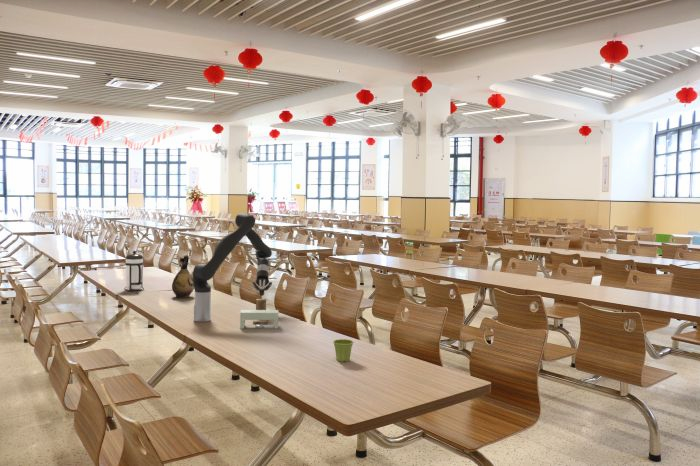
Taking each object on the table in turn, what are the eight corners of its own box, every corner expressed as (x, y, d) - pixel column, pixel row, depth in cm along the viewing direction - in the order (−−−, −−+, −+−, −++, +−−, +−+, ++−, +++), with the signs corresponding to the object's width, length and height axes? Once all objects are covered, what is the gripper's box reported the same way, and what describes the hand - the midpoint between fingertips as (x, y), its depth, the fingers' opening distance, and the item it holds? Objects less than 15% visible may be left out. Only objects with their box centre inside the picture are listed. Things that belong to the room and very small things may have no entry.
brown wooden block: (252, 324, 332) (253, 303, 331) (254, 318, 347) (254, 298, 346) (266, 324, 333) (267, 303, 332) (267, 318, 348) (268, 298, 347)
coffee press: (118, 291, 426) (118, 251, 424) (130, 288, 442) (130, 249, 440) (140, 292, 423) (140, 252, 421) (151, 289, 439) (151, 250, 437)
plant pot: (346, 364, 258) (346, 345, 257) (328, 360, 263) (329, 342, 262) (356, 359, 266) (357, 341, 265) (339, 356, 271) (340, 338, 270)
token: (254, 328, 323) (254, 326, 323) (255, 326, 328) (255, 324, 328) (263, 328, 324) (263, 326, 324) (264, 326, 329) (264, 324, 328)
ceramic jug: (190, 299, 403) (191, 257, 401) (168, 298, 403) (169, 256, 401) (197, 295, 420) (197, 254, 418) (176, 294, 420) (176, 253, 418)
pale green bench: (240, 328, 320) (240, 312, 319) (241, 325, 328) (241, 309, 327) (277, 328, 322) (278, 312, 321) (278, 325, 330) (278, 310, 329)
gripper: (252, 269, 364) (250, 291, 352) (273, 269, 365) (272, 291, 354) (252, 276, 369) (251, 298, 358) (273, 276, 371) (272, 298, 360)
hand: (261, 295), depth 356 cm, fingers closed
